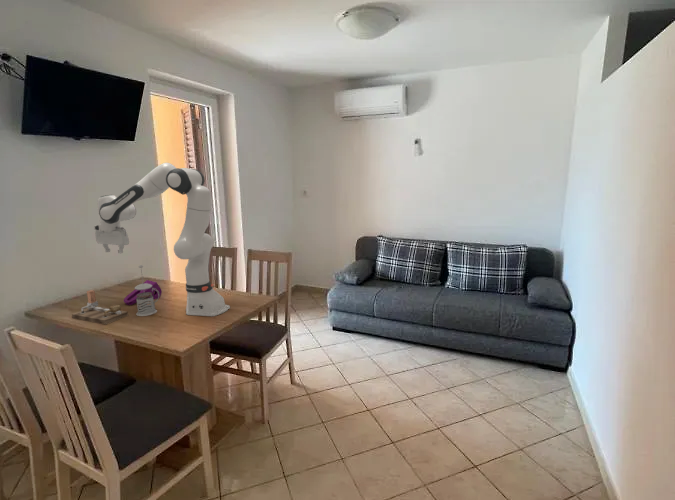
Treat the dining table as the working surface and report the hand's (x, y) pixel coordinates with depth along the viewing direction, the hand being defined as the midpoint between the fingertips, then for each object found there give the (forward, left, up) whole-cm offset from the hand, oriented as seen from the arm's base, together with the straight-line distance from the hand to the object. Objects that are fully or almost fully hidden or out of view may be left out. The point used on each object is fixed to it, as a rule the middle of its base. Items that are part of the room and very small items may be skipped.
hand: (114, 252), depth 200 cm
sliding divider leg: (+3, +16, -27) cm, 31 cm away
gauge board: (-5, +16, -29) cm, 34 cm away
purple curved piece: (-4, -10, -30) cm, 31 cm away
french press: (-23, +3, -29) cm, 37 cm away
